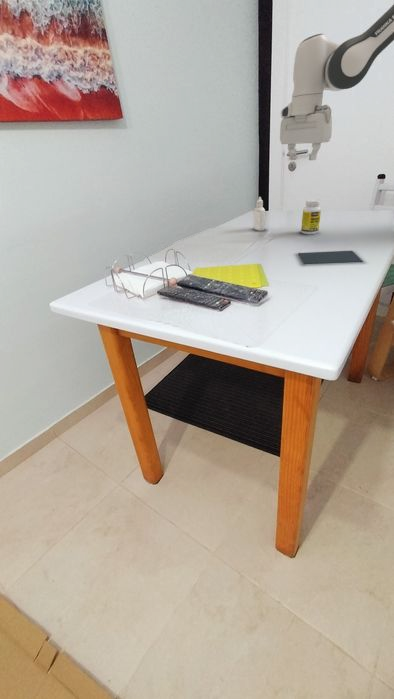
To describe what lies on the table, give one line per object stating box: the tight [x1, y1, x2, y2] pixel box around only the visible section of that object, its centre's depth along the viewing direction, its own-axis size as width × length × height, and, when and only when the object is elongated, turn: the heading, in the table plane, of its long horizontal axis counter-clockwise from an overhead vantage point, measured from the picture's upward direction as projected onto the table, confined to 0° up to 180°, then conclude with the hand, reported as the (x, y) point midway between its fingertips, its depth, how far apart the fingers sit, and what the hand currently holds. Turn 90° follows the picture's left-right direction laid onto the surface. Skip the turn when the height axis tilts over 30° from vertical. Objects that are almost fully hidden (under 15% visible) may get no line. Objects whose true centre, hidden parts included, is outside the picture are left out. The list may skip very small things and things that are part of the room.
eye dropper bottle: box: [253, 196, 266, 232], centre depth 131 cm, size 4×6×12 cm
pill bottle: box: [300, 199, 322, 235], centre depth 122 cm, size 6×6×11 cm
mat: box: [298, 250, 363, 265], centre depth 100 cm, size 16×10×1 cm, turn 85°
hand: (302, 160), depth 109 cm, fingers open, 8 cm apart
